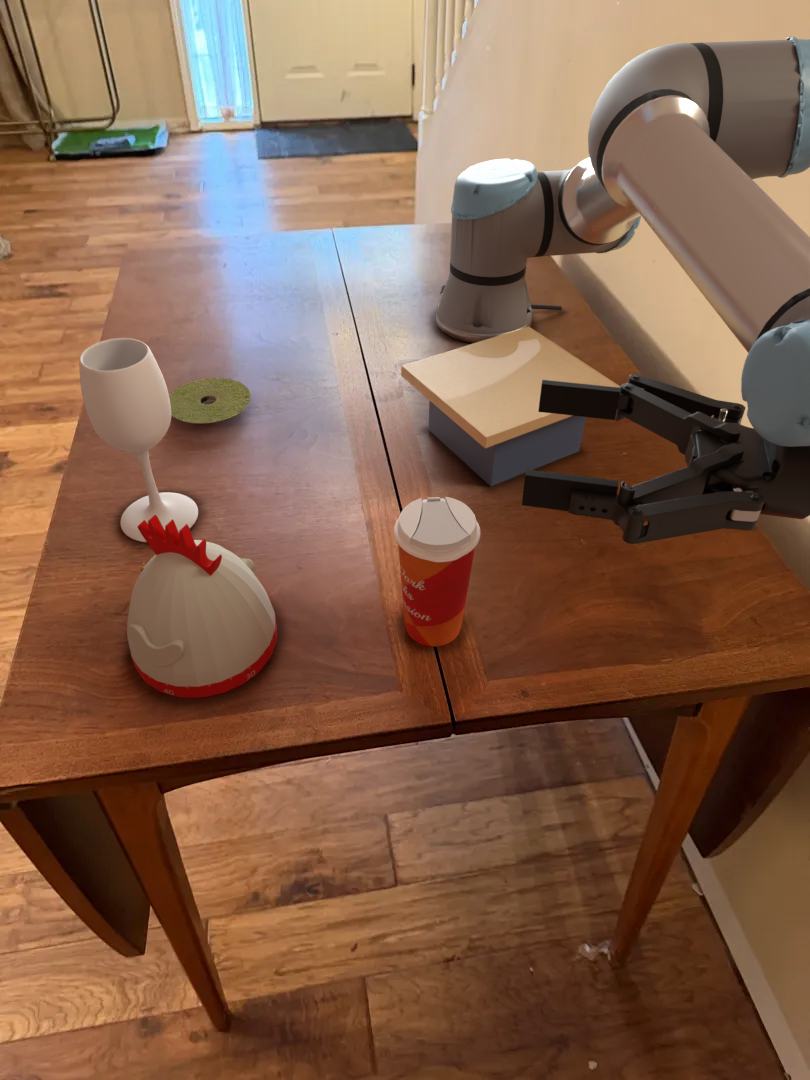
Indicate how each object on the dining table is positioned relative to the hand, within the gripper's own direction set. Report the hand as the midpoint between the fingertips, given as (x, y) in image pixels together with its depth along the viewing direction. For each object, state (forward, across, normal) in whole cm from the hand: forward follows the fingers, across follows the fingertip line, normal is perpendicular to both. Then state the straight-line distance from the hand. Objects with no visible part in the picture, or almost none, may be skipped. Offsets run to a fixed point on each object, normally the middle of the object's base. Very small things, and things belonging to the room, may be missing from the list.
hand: (532, 437), depth 62 cm
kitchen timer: (+29, -7, -23) cm, 38 cm away
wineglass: (+41, +9, -22) cm, 48 cm away
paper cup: (+8, 0, -23) cm, 24 cm away
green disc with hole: (+44, +31, -21) cm, 58 cm away
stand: (+5, +33, -22) cm, 40 cm away
